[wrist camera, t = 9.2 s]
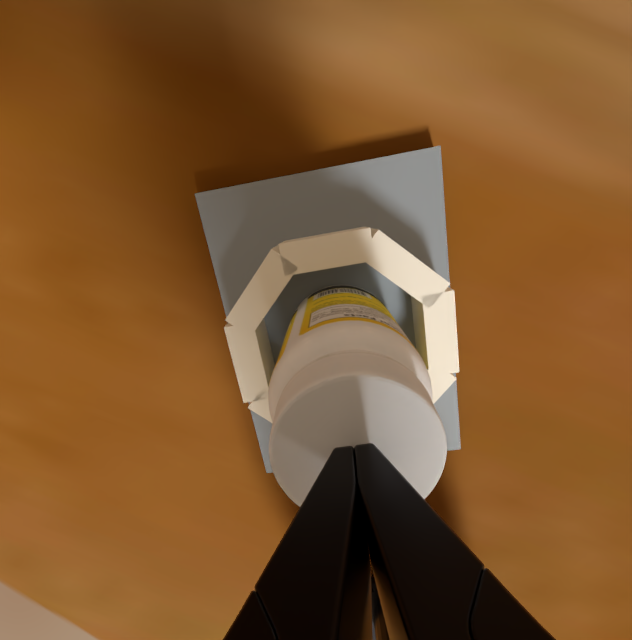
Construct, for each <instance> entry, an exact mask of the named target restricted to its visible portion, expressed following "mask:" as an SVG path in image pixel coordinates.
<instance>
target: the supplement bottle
mask: <svg viewBox="0 0 632 640" xmlns="http://www.w3.org/2000/svg"><path fill="white" fill-rule="evenodd" d="M268 400H269V410H270V415H271V419H272V422H273V424H272V428H271V433H270V440H269V457H270V463H271V467H272V470H273V473H274V475H275V478H276V480H277V482H278V483H279V485H280V487H281V488H282V489H283V491H284V492H285V493H286V494H287V496H288V497H289V498H290V499H291V500H292V501H293V502H294V503H295V504H297V505H298V506H299V507H301V505H302V503H303V501H304V500H305V498H306V496H307V494H308V493H309V491H310V489H311V487H312V486H313V484H314V482H315V480H316V479H317V477H318V475H319V474H320V472H321V470H322V468H323V467H324V465H325V463H326V461H327V460H328V458H329V456H330V454H331V453H332V451H333V449H334V448H336V447H343V446H352V447H353V448H354V447H355V446H356V445H359V444H367V443H373V444H374V445H375V446H376V447H377V448H378V449H379V450H380V451H381V452H382V453H383V455H384V456H385V457H386V458H387V459H388V460H389V461H390V462H391V463H392V464H393V466H394V467H395V468H396V469H397V470H398V471H399V472H400V473H401V474H402V475H403V476H404V478H405V479H406V480H407V481H408V482H409V483H410V484H411V485H412V486H413V487H414V489H415V490H416V491H417V492H418V493H419V494H420V495H421V496H422V497H423V498H424V499H425V498H426V497H427V496H428V495H429V494H430V493H431V491H432V490H433V489H434V487H435V486H436V484H437V482H438V481H439V479H440V477H441V474H442V472H443V469H444V466H445V462H446V454H447V442H446V434H445V430H444V427H443V424H442V421H441V419H440V417H439V415H438V413H437V411H436V409H435V407H434V405H433V402H432V385H431V380H430V376H429V373H428V370H427V368H426V366H425V363H424V361H423V359H422V358H421V356H420V354H419V353H418V351H417V350H416V348H415V347H414V346H413V344H412V343H411V342H410V340H409V339H408V338H407V336H406V335H405V333H404V332H403V330H402V329H401V328H400V326H399V325H398V323H397V322H396V321H395V319H394V318H393V316H392V315H391V314H390V312H389V311H388V309H387V308H386V307H385V305H384V304H383V303H382V302H381V301H380V300H379V299H378V298H377V297H376V296H374V295H373V294H371V293H370V292H368V291H366V290H364V289H362V288H359V287H356V286H351V285H333V286H328V287H324V288H322V289H319V290H317V291H315V292H313V293H312V294H310V295H309V296H308V297H307V298H305V299H304V300H303V301H302V302H301V304H300V305H299V306H298V308H297V309H296V311H295V312H294V314H293V316H292V318H291V321H290V323H289V326H288V330H287V332H286V336H285V339H284V342H283V345H282V348H281V351H280V354H279V357H278V359H277V362H276V365H275V368H274V370H273V373H272V376H271V379H270V383H269V390H268Z"/></svg>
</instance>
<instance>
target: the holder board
mask: <svg viewBox="0 0 632 640" xmlns="http://www.w3.org/2000/svg"><path fill="white" fill-rule="evenodd" d="M195 197H196V201H197V205H198V209H199V213H200V217H201V221H202V224H203V228H204V232H205V236H206V240H207V244H208V248H209V252H210V255H211V259H212V263H213V267H214V271H215V275H216V279H217V283H218V286H219V290H220V294H221V298H222V302H223V306H224V310H225V314H226V317H227V318H226V319H225V321H227V322H228V324H227V325H226V326H225V327H224V330H225V334H226V338H227V342H228V345H229V349H230V353H231V357H232V361H233V364H234V368H235V372H236V376H237V380H238V383H239V387H240V391H241V395H242V399H243V403H245V402H248V403H249V406H248V409H250V410H251V414H252V418H253V422H254V426H255V430H256V434H257V438H258V441H259V445H260V449H261V453H262V457H263V461H264V465H265V469H266V472H267V473H272V472H273V470H272V467H271V463H270V457H269V440H270V433H271V428H272V424H273V422H272V419H271V415H270V410H269V400H268V390H269V383H270V379H271V376H272V373H273V370H274V368H275V365H276V362H277V359H278V357H279V354H280V351H281V348H282V345H283V342H284V339H285V336H286V332H287V330H288V326H289V323H290V321H291V318H292V316H293V314H294V312H295V311H296V309H297V308H298V306H299V305H300V304H301V302H302V301H303V300H304V299H305V298H307V297H308V296H309V295H310V294H312V293H313V292H315V291H317V290H319V289H322V288H324V287H328V286H333V285H351V286H356V287H359V288H362V289H364V290H366V291H368V292H370V293H371V294H373V295H374V296H376V297H377V298H378V299H379V300H380V301H381V302H382V303H383V304H384V305H385V307H386V308H387V309H388V311H389V312H390V314H391V315H392V316H393V318H394V319H395V321H396V322H397V323H398V325H399V326H400V328H401V329H402V330H403V332H404V333H405V335H406V336H407V338H408V339H409V340H410V342H411V343H412V344H413V346H414V347H415V348H416V350H417V351H418V353H419V354H420V356H421V358H422V359H423V361H424V363H425V366H426V368H427V370H428V373H429V376H430V380H431V385H432V402H433V405H434V407H435V409H436V411H437V413H438V415H439V417H440V419H441V421H442V424H443V427H444V430H445V434H446V442H447V451H449V450H457V449H461V445H460V430H459V415H458V400H457V385H456V379H457V378H456V373H457V372H459V358H458V342H457V326H456V310H455V295H454V290H453V289H451V288H450V280H449V265H448V250H447V235H446V220H445V204H444V189H443V174H442V159H441V146H436V147H431V148H426V149H421V150H416V151H411V152H405V153H400V154H395V155H390V156H385V157H380V158H375V159H369V160H364V161H359V162H354V163H349V164H344V165H339V166H334V167H328V168H323V169H318V170H313V171H308V172H303V173H298V174H292V175H287V176H282V177H277V178H272V179H267V180H262V181H256V182H251V183H246V184H241V185H236V186H231V187H226V188H220V189H215V190H210V191H205V192H200V193H195Z"/></svg>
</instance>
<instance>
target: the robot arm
mask: <svg viewBox="0 0 632 640" xmlns="http://www.w3.org/2000/svg"><path fill="white" fill-rule="evenodd" d="M368 547H369V548H368ZM369 553H370V556H369ZM370 559H371V565H372V569H373V574H374V577H371V568H370ZM223 640H556V639H555V638H554V637H553V636H552V635H551V634H550V633H548V632H547V631H546V630H545V629H544V628H543V627H542V626H541V625H540V624H539V623H538V621H537V620H536V619H535V618H534V617H533V616H532V615H531V614H530V613H529V612H528V611H527V610H526V609H525V608H524V607H523V606H522V605H521V604H520V603H519V602H518V601H517V600H516V599H515V598H514V596H513V595H512V594H511V593H510V592H509V591H508V590H507V589H506V588H505V587H504V586H503V585H502V584H501V582H500V581H499V580H498V579H497V578H496V577H495V576H494V575H493V574H492V573H491V571H490V570H489V569H487V568H485V569H484V564H483V563H482V562H481V561H480V560H479V559H478V558H477V556H476V555H475V554H474V553H473V552H472V551H471V550H470V549H469V548H468V547H467V545H466V544H465V543H464V542H463V541H462V540H461V539H460V538H459V537H458V536H457V535H456V533H455V532H454V531H453V530H452V529H451V528H450V527H449V526H448V525H447V524H446V522H445V521H444V520H443V519H442V518H441V517H440V516H439V515H438V514H437V513H436V512H435V510H434V509H433V508H432V507H431V506H430V505H429V504H428V503H427V502H426V501H425V499H424V498H423V497H422V496H421V495H420V494H419V493H418V492H417V491H416V490H415V489H414V487H413V486H412V485H411V484H410V483H409V482H408V481H407V480H406V479H405V478H404V476H403V475H402V474H401V473H400V472H399V471H398V470H397V469H396V468H395V467H394V466H393V464H392V463H391V462H390V461H389V460H388V459H387V458H386V457H385V456H384V455H383V453H382V452H381V451H380V450H379V449H378V448H377V447H376V446H375V445H374V444H373V443H367V444H359V445H356V446H355V447H354V448H353V447H352V446H343V447H336V448H334V449H333V451H332V453H331V454H330V456H329V458H328V460H327V461H326V463H325V465H324V467H323V468H322V470H321V472H320V474H319V475H318V477H317V479H316V480H315V482H314V484H313V486H312V487H311V489H310V491H309V493H308V494H307V496H306V498H305V500H304V501H303V503H302V505H301V507H300V508H299V510H298V512H297V514H296V515H295V517H294V519H293V521H292V522H291V524H290V526H289V527H288V529H287V531H286V533H285V534H284V536H283V538H282V540H281V541H280V543H279V545H278V547H277V548H276V550H275V552H274V554H273V555H272V557H271V559H270V561H269V562H268V564H267V566H266V568H265V569H264V571H263V573H262V574H261V576H260V578H259V580H258V581H257V583H256V585H255V591H252V592H251V593H250V595H249V597H248V598H247V600H246V602H245V604H244V605H243V607H242V609H241V611H240V612H239V614H238V616H237V617H236V619H235V621H234V622H233V624H232V626H231V627H230V629H229V631H228V632H227V634H226V635H225V637H224V639H223Z"/></svg>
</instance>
